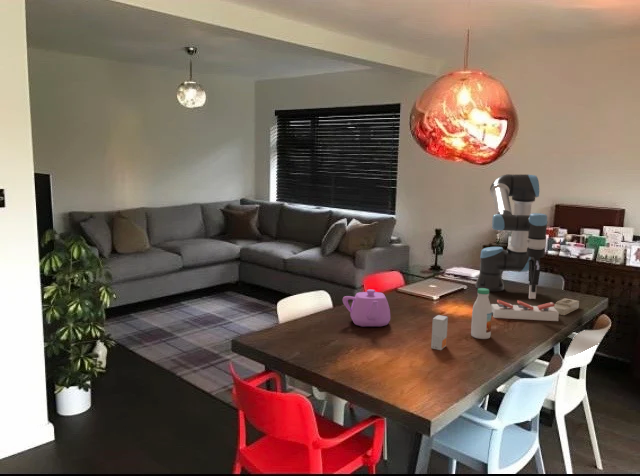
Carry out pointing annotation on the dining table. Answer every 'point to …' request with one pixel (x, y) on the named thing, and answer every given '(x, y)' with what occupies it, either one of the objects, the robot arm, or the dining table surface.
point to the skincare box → (439, 332)
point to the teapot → (368, 308)
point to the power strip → (524, 312)
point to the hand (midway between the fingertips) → (532, 298)
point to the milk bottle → (481, 315)
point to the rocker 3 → (545, 305)
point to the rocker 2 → (525, 304)
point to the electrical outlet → (566, 306)
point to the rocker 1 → (505, 303)
